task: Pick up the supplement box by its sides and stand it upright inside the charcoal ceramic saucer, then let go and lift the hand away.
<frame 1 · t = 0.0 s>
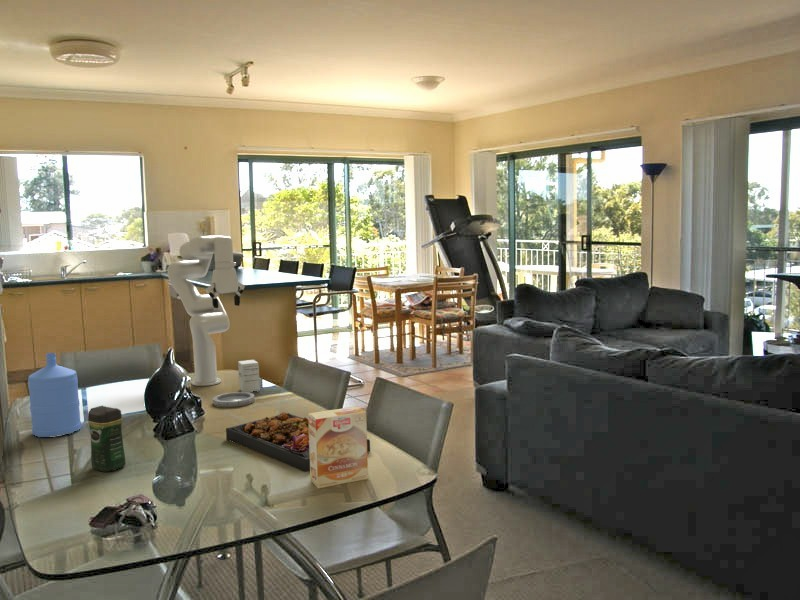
hand: (226, 306, 297), 37 cm above the table, tool pointing down, fingers open, 9 cm apart
coffeecake box: (339, 480, 198), on the table
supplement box: (249, 391, 304), on the table
coffee jar: (109, 468, 212), on the table
food platter: (296, 447, 229), on the table
water jug: (57, 432, 250), on the table
saucer: (234, 402, 285), on the table
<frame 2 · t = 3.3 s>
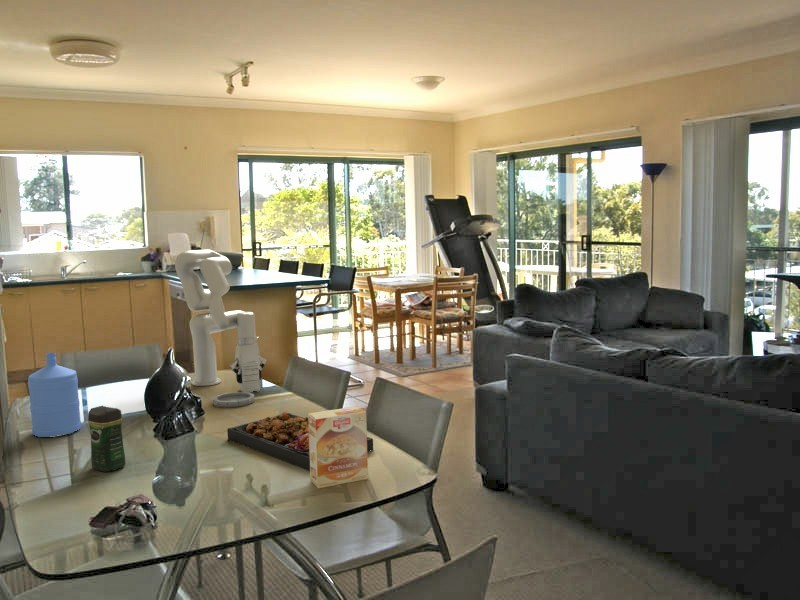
hand: (249, 380, 303), 4 cm above the table, tool pointing down, fingers closed on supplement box, 8 cm apart
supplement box: (249, 391, 304), on the table, touching gripper
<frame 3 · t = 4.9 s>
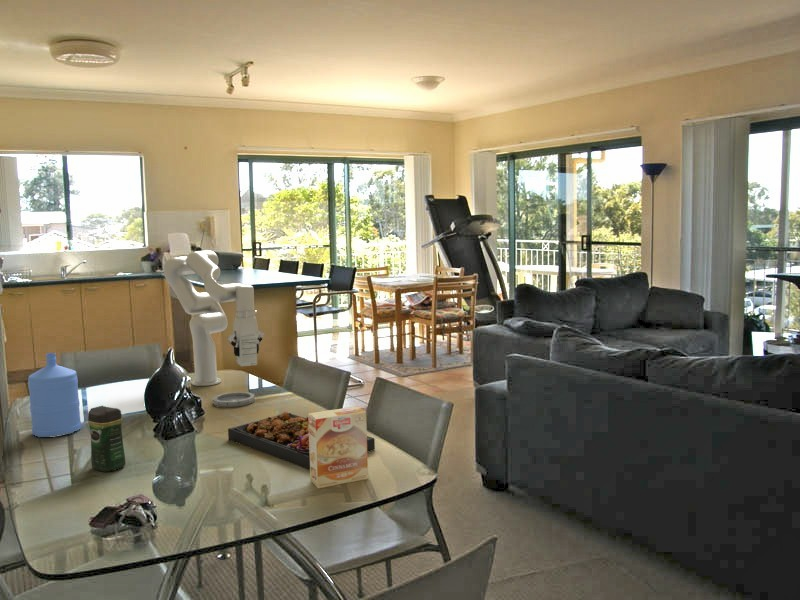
hand: (246, 354, 302), 16 cm above the table, tool pointing down, fingers closed on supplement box, 8 cm apart
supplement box: (246, 364, 303), point 11 cm above the table, touching gripper
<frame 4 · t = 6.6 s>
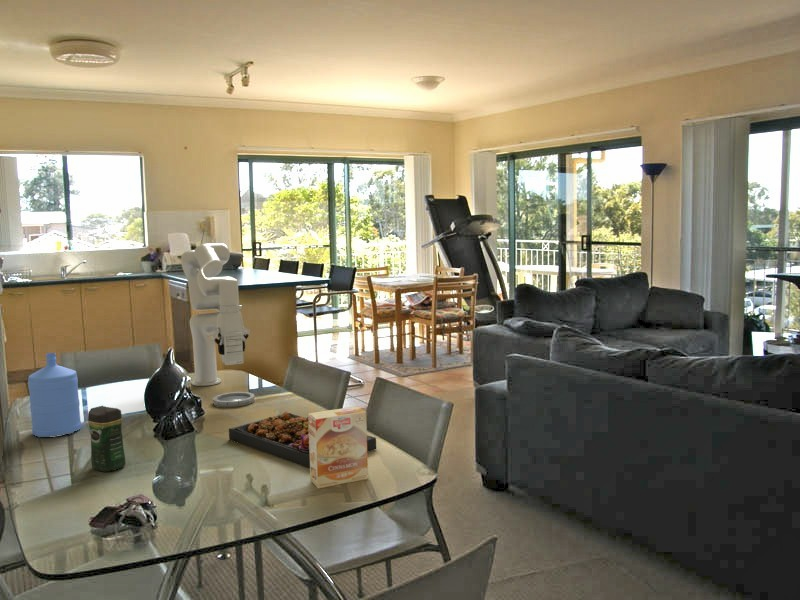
hand: (232, 352, 283), 20 cm above the table, tool pointing down, fingers closed on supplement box, 8 cm apart
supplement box: (232, 363, 283), point 16 cm above the table, touching gripper
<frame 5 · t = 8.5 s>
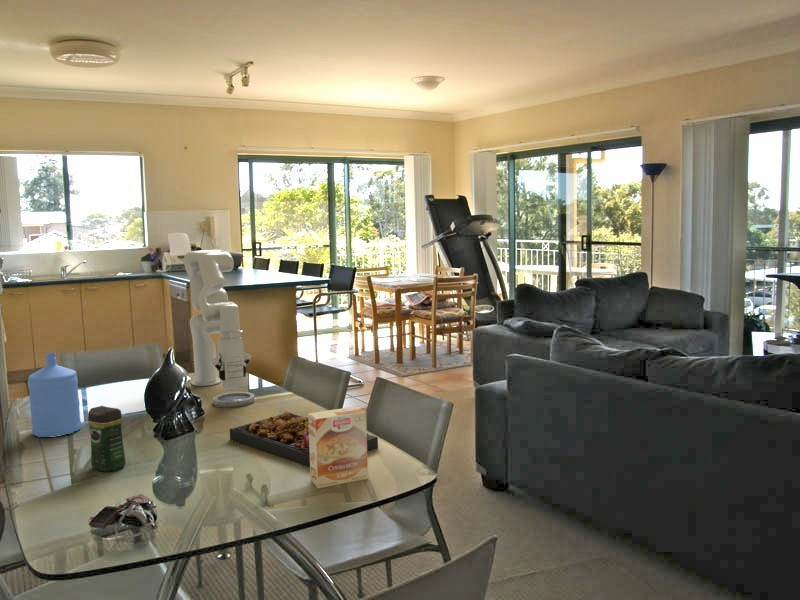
hand: (232, 377, 283), 10 cm above the table, tool pointing down, fingers closed on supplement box, 8 cm apart
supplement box: (233, 388, 284), point 6 cm above the table, touching gripper
when the fingers open (7 cm above the table, at t = 10.2 s): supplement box drops 1 cm, resting on saucer.
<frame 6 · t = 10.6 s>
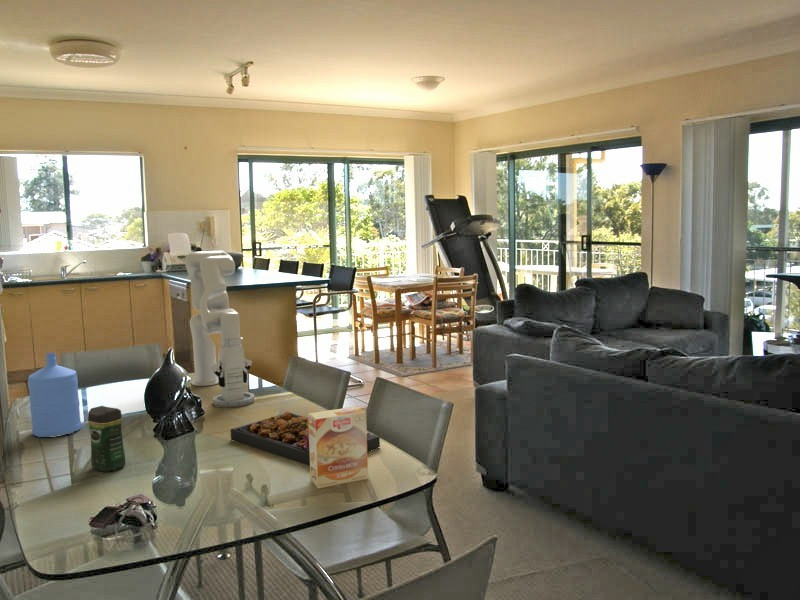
hand: (233, 384, 284), 7 cm above the table, tool pointing down, fingers open, 9 cm apart
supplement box: (233, 399, 285), point 1 cm above the table, touching saucer
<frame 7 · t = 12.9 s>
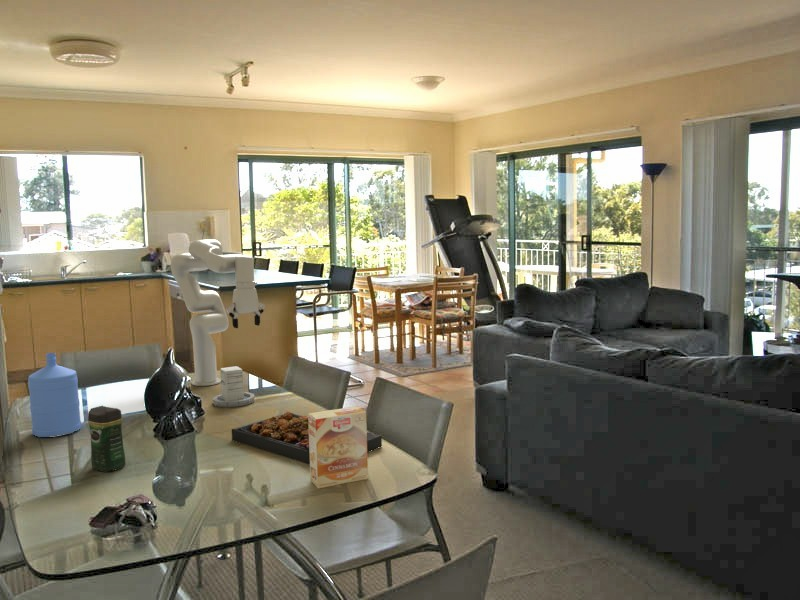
hand: (246, 326, 294), 29 cm above the table, tool pointing down, fingers open, 9 cm apart
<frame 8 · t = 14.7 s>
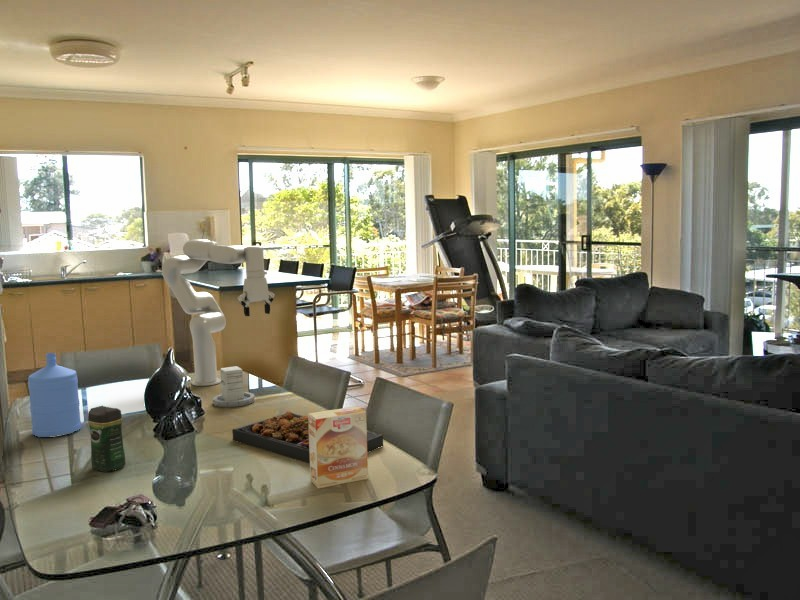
hand: (257, 314, 302), 32 cm above the table, tool pointing down, fingers open, 9 cm apart
at the end: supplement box 0.4 cm off-centre on the saucer, point 1.0 cm above the saucer's base; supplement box tilted 0°; the gripper is holding nothing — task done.
